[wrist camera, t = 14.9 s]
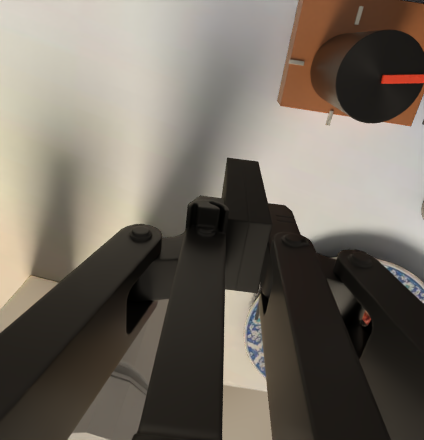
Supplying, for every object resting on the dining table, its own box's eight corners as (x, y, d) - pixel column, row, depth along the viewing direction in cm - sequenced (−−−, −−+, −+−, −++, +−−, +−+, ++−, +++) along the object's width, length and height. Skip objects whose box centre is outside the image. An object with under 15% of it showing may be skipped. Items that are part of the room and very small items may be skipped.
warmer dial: (307, 104, 34) (331, 124, 26) (313, 34, 32) (343, 30, 23) (370, 103, 34) (417, 123, 25) (382, 32, 31) (439, 28, 23)
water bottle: (183, 290, 49) (139, 496, 27) (127, 282, 49) (36, 482, 27) (189, 232, 45) (144, 419, 23) (128, 224, 45) (22, 402, 23)
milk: (72, 285, 50) (-31, 442, 30) (69, 316, 53) (-29, 480, 33) (29, 274, 50) (-105, 427, 30) (28, 307, 52) (-97, 466, 32)
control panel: (273, 111, 38) (276, 117, 35) (299, -11, 33) (305, -16, 30) (394, 130, 38) (407, 137, 35) (439, 11, 33) (458, 8, 30)
